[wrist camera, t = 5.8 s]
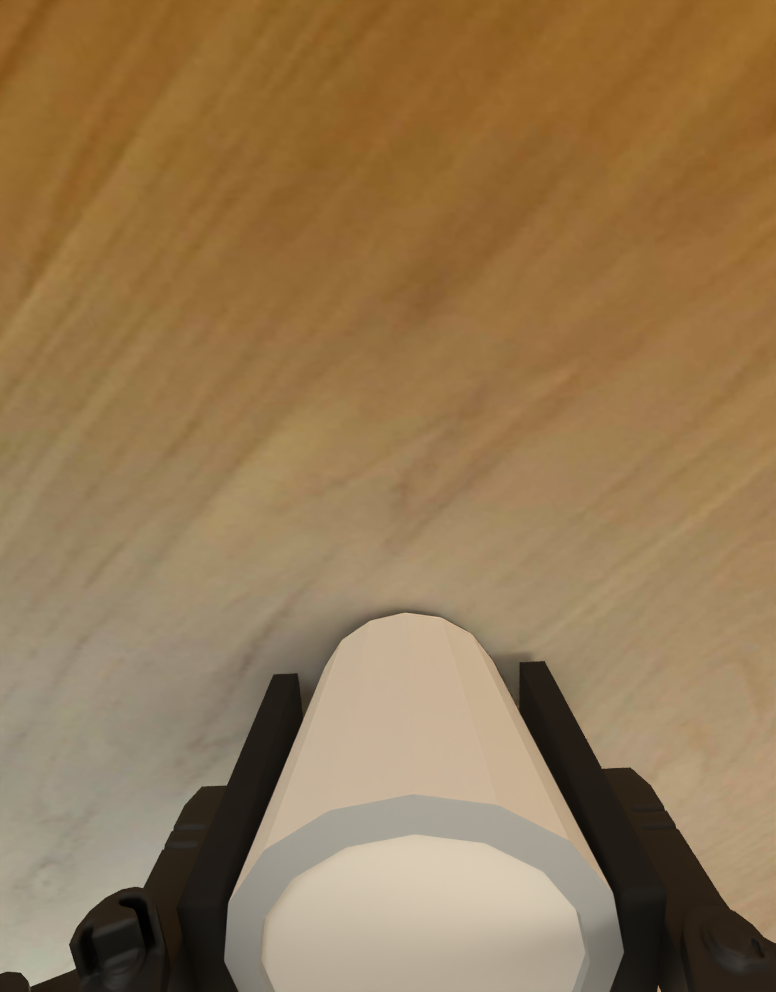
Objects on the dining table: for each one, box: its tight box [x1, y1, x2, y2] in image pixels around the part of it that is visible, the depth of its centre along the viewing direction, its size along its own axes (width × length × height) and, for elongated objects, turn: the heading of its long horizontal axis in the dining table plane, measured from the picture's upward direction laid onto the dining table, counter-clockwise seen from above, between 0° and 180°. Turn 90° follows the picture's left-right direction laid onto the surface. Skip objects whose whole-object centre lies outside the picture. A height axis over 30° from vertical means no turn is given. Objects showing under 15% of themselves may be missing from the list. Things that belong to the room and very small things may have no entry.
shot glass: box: [224, 613, 624, 992], centre depth 11 cm, size 7×7×7 cm
